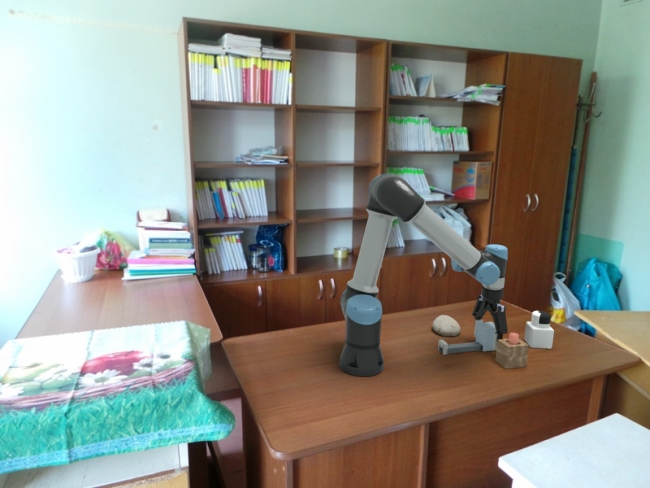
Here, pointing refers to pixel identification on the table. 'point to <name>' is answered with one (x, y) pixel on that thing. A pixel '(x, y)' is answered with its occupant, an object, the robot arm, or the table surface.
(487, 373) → the table surface
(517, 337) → the plunger
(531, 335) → the container
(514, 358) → the wooden box
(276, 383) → the table surface
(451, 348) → the rail
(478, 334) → the carriage
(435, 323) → the stone
